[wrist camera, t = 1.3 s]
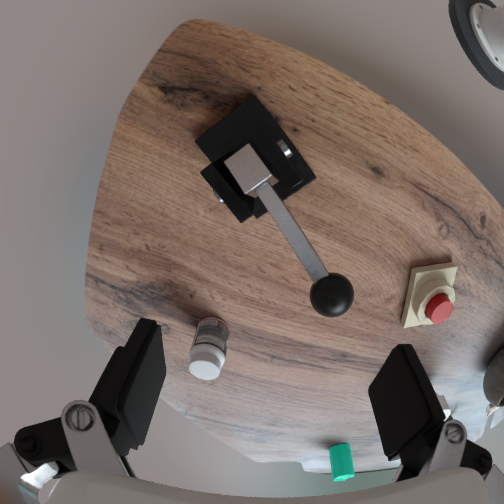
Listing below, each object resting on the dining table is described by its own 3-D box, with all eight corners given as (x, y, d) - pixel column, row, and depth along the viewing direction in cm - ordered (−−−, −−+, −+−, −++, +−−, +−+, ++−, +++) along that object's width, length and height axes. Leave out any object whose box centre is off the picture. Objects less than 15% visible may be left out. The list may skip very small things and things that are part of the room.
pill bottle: (219, 344, 40) (211, 386, 33) (192, 329, 39) (179, 371, 32) (235, 326, 38) (230, 370, 31) (208, 310, 37) (196, 353, 30)
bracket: (314, 176, 29) (348, 208, 17) (257, 215, 31) (253, 270, 20) (255, 96, 25) (248, 71, 14) (196, 140, 28) (152, 150, 16)
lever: (359, 296, 18) (363, 308, 15) (324, 317, 19) (322, 331, 16) (264, 149, 20) (252, 137, 17) (232, 172, 20) (216, 164, 18)
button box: (411, 267, 33) (422, 280, 30) (452, 261, 33) (464, 272, 29) (400, 322, 37) (408, 336, 34) (438, 313, 37) (448, 326, 34)
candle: (328, 452, 60) (332, 486, 49) (329, 446, 57) (333, 482, 46) (348, 449, 59) (354, 482, 48) (350, 441, 57) (356, 477, 46)
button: (428, 295, 32) (435, 303, 30) (449, 291, 31) (456, 298, 29) (422, 317, 33) (428, 326, 31) (442, 312, 33) (448, 321, 31)
